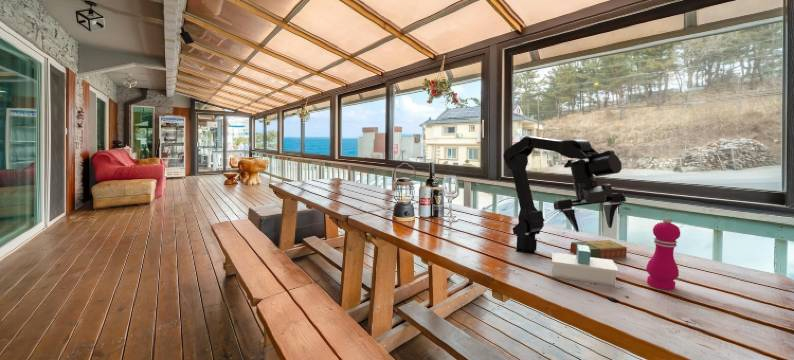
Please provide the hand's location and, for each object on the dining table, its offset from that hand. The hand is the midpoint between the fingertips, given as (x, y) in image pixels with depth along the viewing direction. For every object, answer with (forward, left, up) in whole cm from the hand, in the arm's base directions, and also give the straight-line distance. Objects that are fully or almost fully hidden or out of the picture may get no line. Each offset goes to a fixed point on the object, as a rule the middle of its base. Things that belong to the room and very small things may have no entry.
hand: (593, 229), depth 99 cm
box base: (-3, -2, -14) cm, 15 cm away
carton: (+5, +22, -15) cm, 27 cm away
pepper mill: (+17, 0, -14) cm, 23 cm away
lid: (-3, -2, -10) cm, 11 cm away
